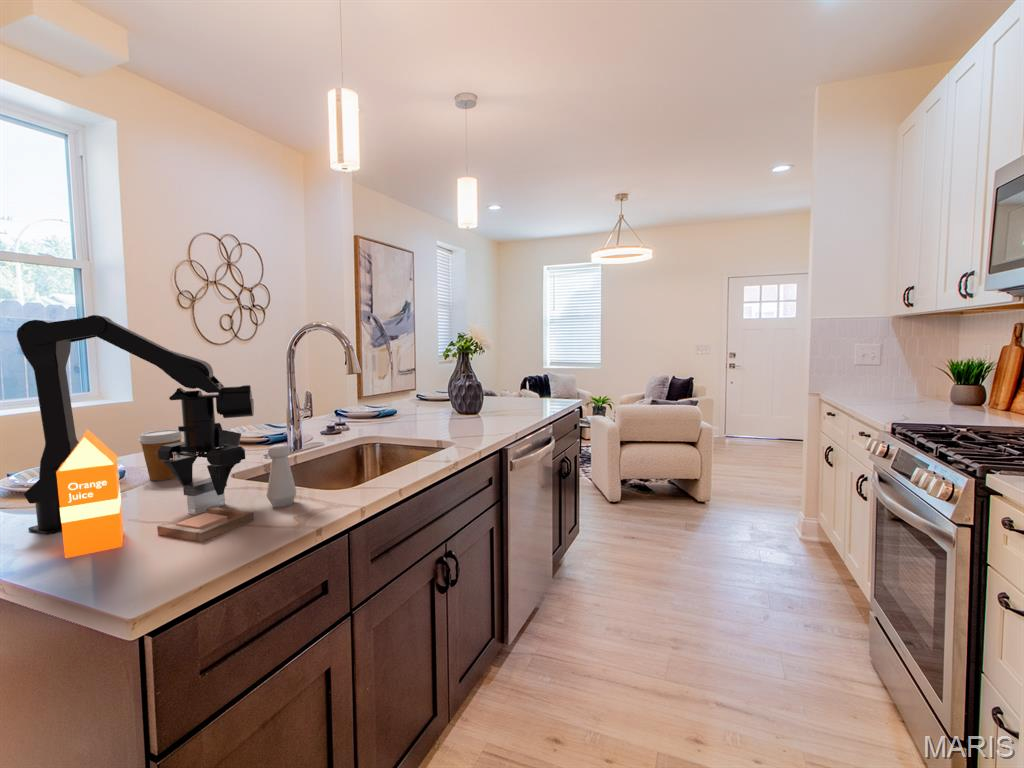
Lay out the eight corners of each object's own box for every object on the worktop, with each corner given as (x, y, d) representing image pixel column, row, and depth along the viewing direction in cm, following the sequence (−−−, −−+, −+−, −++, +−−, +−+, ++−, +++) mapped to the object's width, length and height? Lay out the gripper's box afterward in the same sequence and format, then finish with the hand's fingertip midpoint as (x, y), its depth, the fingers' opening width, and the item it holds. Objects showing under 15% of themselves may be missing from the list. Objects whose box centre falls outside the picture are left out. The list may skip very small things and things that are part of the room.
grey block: (185, 513, 104) (183, 485, 104) (218, 502, 111) (216, 475, 111) (195, 515, 103) (193, 486, 103) (228, 503, 110) (226, 477, 110)
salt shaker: (285, 509, 106) (281, 448, 105) (261, 508, 107) (257, 447, 106) (302, 500, 111) (299, 442, 110) (279, 499, 113) (275, 442, 111)
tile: (176, 532, 95) (175, 523, 95) (206, 521, 101) (205, 512, 101) (199, 536, 93) (198, 527, 93) (227, 525, 99) (227, 516, 98)
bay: (157, 534, 93) (157, 526, 93) (212, 514, 103) (212, 506, 103) (201, 541, 89) (200, 533, 89) (253, 520, 100) (253, 512, 99)
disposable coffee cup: (169, 482, 129) (166, 435, 127) (132, 482, 129) (128, 436, 128) (193, 472, 138) (190, 428, 137) (159, 472, 138) (155, 429, 137)
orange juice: (63, 558, 83) (51, 439, 82) (70, 541, 90) (58, 431, 89) (123, 546, 88) (113, 433, 86) (124, 531, 95) (115, 426, 93)
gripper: (264, 415, 110) (268, 485, 111) (202, 412, 117) (207, 479, 118) (218, 424, 100) (224, 501, 101) (153, 420, 106) (159, 493, 108)
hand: (204, 492), depth 107 cm, fingers open, 9 cm apart
